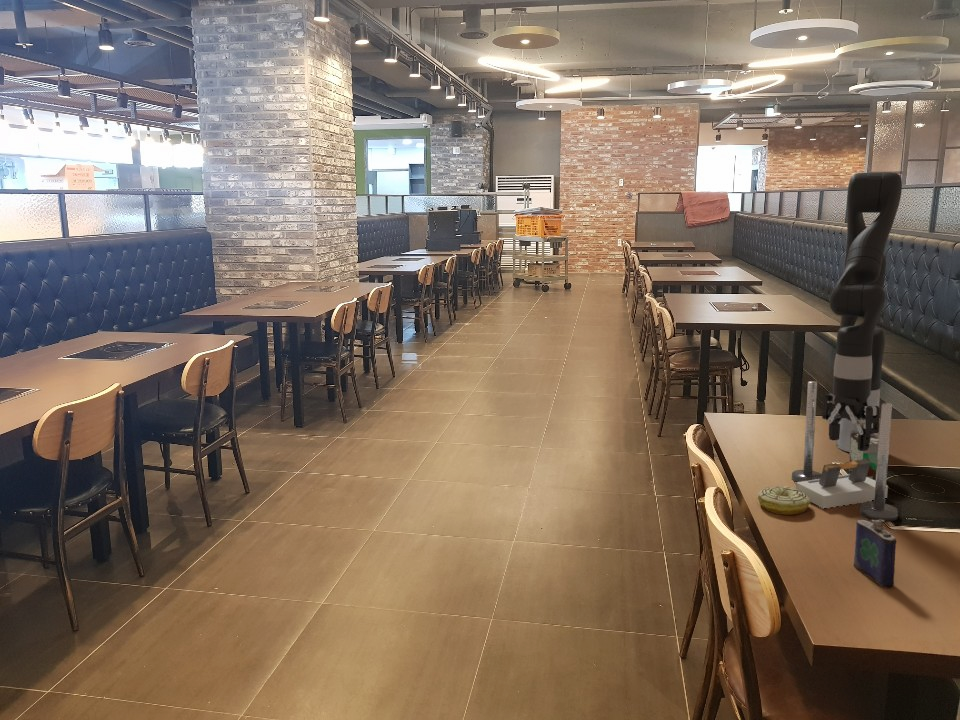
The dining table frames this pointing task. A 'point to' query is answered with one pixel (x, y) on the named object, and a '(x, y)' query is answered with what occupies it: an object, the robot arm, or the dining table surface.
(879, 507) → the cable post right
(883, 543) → the flask
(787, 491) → the decorated donut
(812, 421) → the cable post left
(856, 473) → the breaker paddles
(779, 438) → the dining table surface
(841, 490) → the switch panel
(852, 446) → the food container
